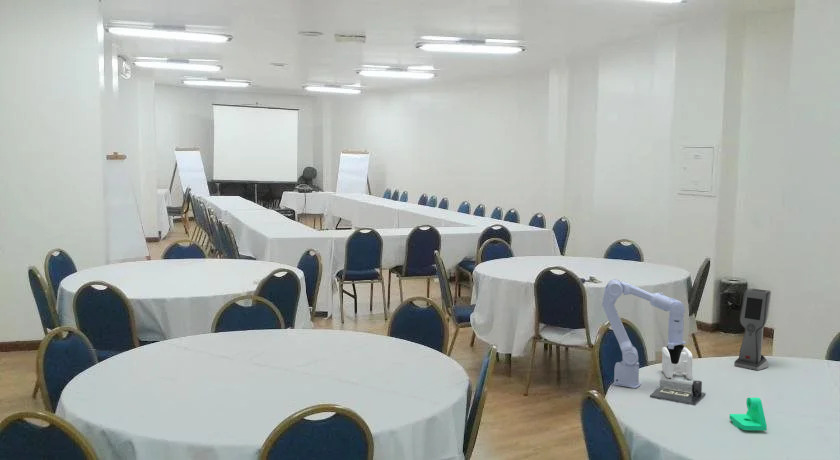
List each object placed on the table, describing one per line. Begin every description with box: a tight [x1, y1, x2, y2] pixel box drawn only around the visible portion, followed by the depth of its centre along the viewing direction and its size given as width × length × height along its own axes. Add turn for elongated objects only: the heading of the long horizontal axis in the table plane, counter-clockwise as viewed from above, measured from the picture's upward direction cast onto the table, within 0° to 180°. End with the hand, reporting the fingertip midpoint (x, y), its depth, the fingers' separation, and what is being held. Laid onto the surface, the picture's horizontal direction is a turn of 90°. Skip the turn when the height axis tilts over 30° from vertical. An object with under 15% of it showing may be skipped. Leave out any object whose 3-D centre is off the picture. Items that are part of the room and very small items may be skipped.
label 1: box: [660, 389, 676, 394], centre depth 274 cm, size 5×5×1 cm
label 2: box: [674, 391, 691, 397], centre depth 271 cm, size 5×5×1 cm
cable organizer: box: [661, 346, 694, 380], centre depth 299 cm, size 15×11×12 cm
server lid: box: [649, 387, 706, 406], centre depth 271 cm, size 17×16×1 cm
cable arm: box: [659, 377, 703, 396], centre depth 273 cm, size 16×3×5 cm, turn 55°
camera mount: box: [729, 397, 768, 431], centre depth 236 cm, size 12×8×10 cm, turn 178°
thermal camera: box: [733, 288, 772, 372], centre depth 315 cm, size 12×13×35 cm
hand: (675, 363), depth 280 cm, fingers closed
